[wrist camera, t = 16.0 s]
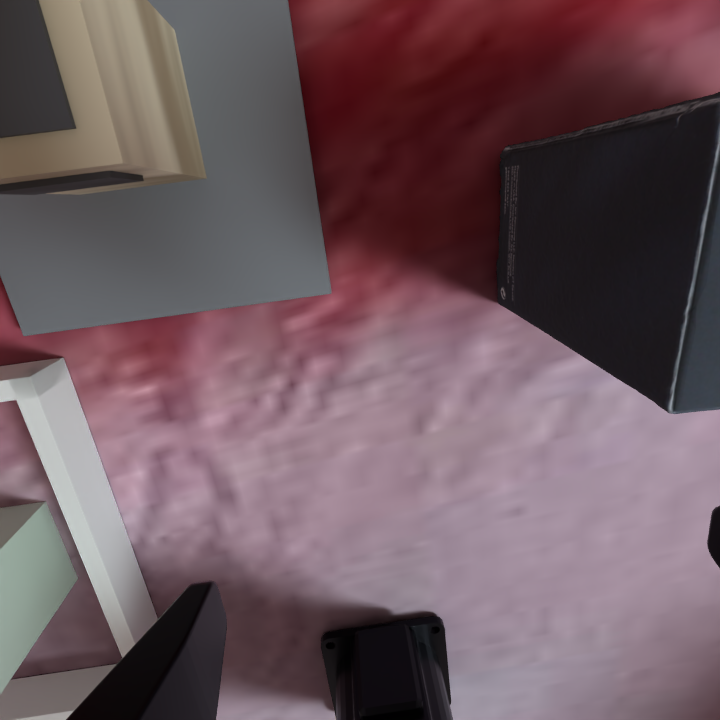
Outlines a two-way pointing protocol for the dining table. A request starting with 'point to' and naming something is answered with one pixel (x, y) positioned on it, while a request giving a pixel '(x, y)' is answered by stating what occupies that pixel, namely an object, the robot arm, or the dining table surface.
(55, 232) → the mat
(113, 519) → the white square frame
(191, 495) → the dining table surface
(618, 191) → the small box
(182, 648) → the robot arm
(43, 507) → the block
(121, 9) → the labelled block
